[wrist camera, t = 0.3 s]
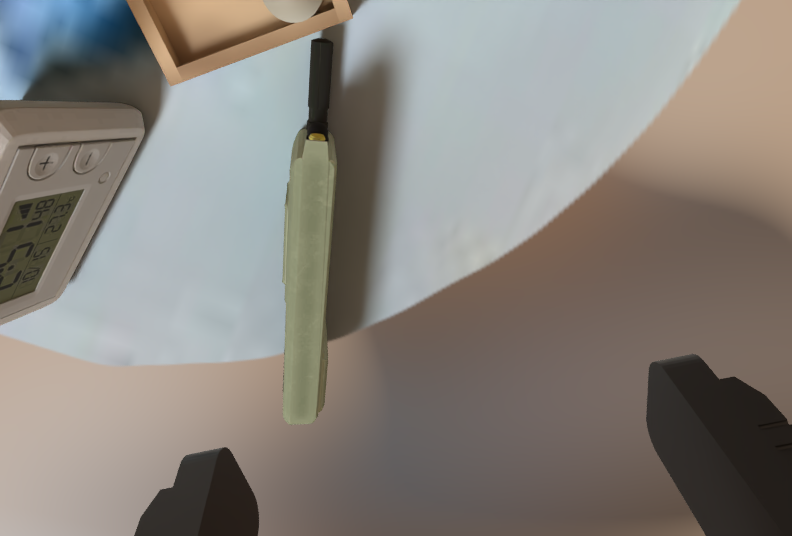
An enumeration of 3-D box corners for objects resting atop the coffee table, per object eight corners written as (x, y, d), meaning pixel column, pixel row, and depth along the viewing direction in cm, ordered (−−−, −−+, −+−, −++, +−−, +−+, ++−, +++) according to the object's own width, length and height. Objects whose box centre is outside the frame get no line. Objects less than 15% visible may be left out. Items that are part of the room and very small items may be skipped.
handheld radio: (281, 365, 45) (292, 33, 33) (322, 366, 45) (347, 39, 34) (276, 425, 39) (289, 45, 27) (323, 424, 39) (355, 53, 28)
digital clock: (52, 304, 40) (-35, 404, 31) (-75, 223, 36) (-218, 308, 27) (194, 149, 36) (144, 210, 26) (67, 40, 32) (-44, 66, 23)
